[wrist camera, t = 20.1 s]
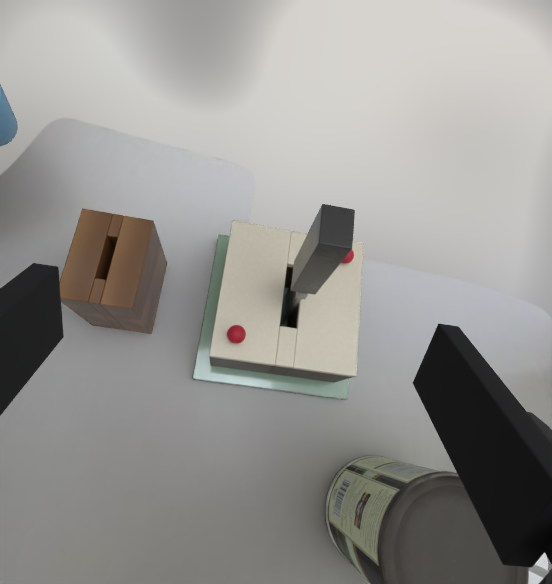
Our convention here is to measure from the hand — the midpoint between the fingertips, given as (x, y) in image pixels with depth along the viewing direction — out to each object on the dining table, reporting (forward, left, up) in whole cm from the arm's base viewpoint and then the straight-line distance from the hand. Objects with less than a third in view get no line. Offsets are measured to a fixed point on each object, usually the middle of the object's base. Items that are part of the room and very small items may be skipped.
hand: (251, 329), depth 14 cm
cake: (-2, +9, -27) cm, 29 cm away
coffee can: (+19, +3, -29) cm, 34 cm away
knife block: (-14, -1, -28) cm, 32 cm away
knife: (-2, +9, -27) cm, 29 cm away
